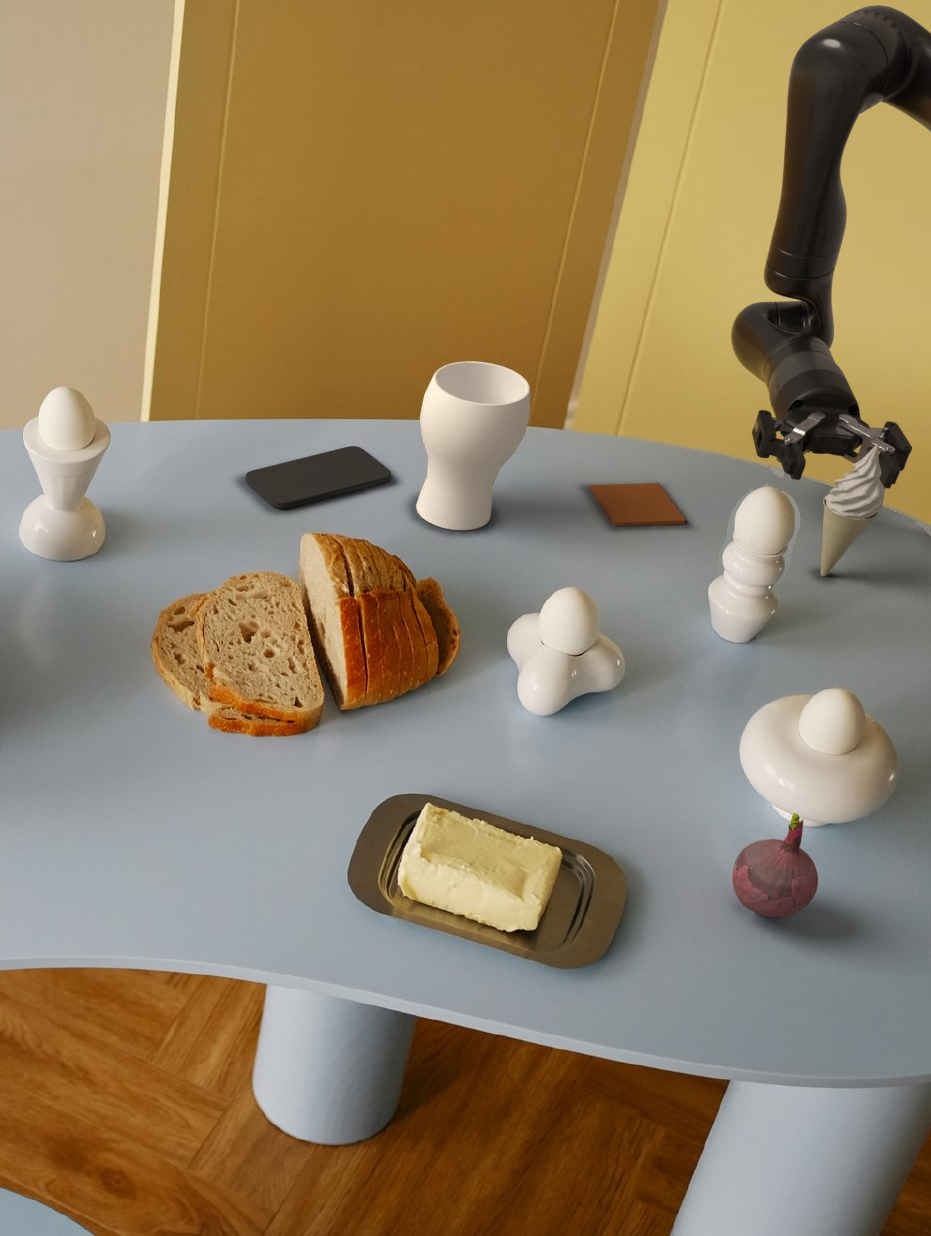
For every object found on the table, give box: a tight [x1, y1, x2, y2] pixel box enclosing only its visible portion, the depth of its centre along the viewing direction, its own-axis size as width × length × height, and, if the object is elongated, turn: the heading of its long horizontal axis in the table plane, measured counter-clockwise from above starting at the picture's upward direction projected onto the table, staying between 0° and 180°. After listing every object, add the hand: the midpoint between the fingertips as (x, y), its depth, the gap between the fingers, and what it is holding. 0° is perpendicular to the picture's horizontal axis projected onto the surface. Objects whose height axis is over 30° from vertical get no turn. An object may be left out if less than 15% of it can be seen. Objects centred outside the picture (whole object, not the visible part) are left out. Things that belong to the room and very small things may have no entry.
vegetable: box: [731, 812, 819, 918], centre depth 126 cm, size 6×6×10 cm
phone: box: [245, 445, 392, 509], centre depth 179 cm, size 7×1×15 cm
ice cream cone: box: [820, 444, 886, 577], centre depth 161 cm, size 5×5×15 cm
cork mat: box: [589, 482, 687, 527], centre depth 176 cm, size 8×8×1 cm
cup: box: [415, 360, 531, 531], centre depth 170 cm, size 11×11×15 cm
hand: (844, 476), depth 163 cm, fingers open, 8 cm apart
